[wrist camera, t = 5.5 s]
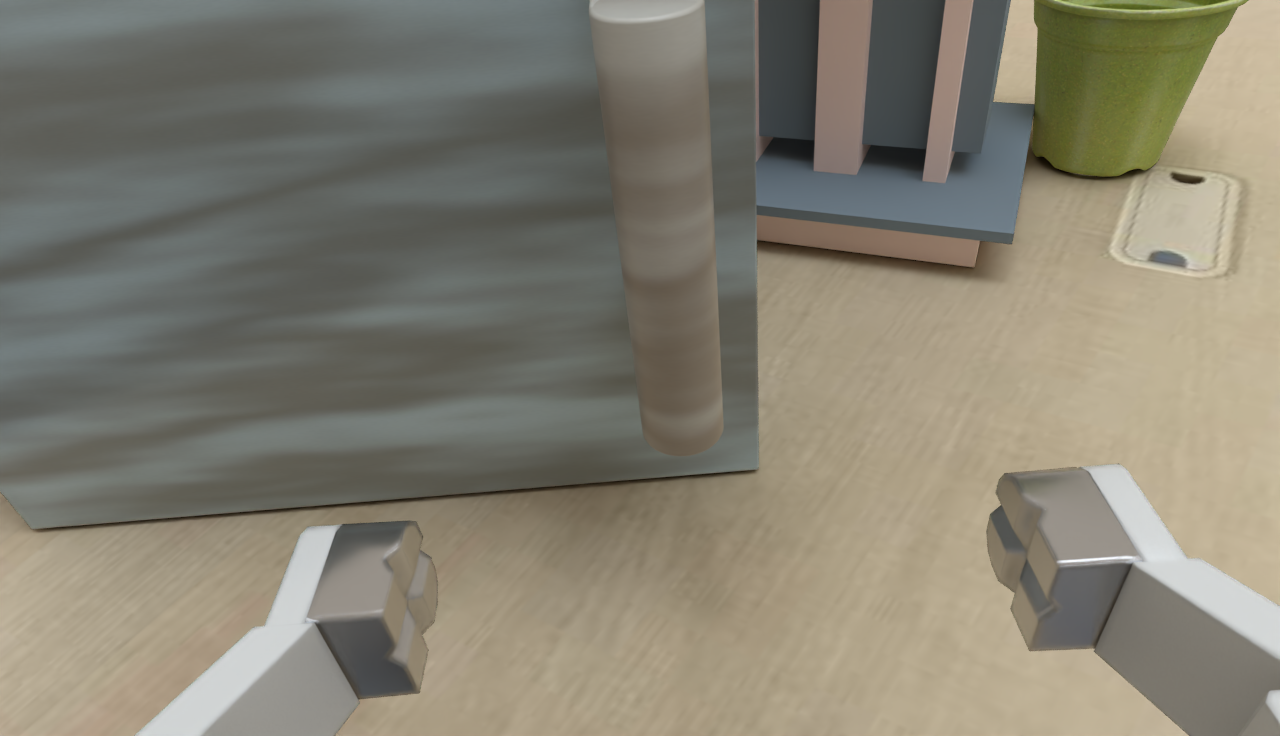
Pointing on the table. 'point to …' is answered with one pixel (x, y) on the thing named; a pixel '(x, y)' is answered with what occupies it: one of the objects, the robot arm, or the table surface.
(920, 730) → the table surface
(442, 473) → the cupboard door
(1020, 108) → the desk lamp
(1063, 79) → the plant pot
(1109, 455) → the table surface
